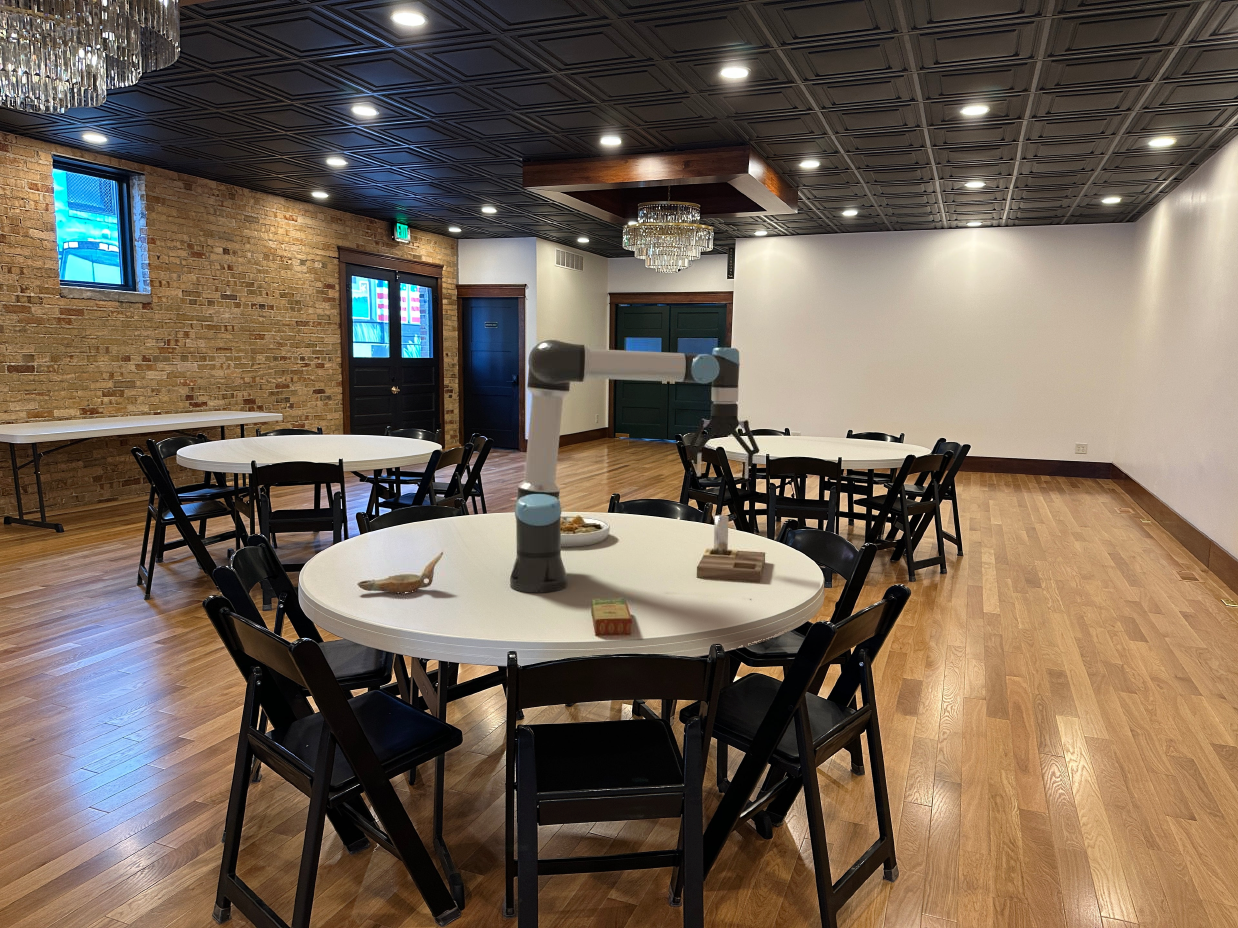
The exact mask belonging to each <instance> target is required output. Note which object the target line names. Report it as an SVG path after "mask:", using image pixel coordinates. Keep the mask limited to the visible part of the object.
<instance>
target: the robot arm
mask: <svg viewBox="0 0 1238 928" xmlns="http://www.w3.org/2000/svg"><path fill="white" fill-rule="evenodd" d="M527 361H528V362H527V363H528V374H527V384H526V385H527V386H526V388H527V389H528V391H529V392H530V394H531V403H530V412H529V413H530V414H529V415H530V416H529V425H528V436H527V437H528V438H527V448H526V457H525V458H526V459H525V466H524V467H525V469H524V480H522V482H520V483H519V484H518V485H517V486H518V487H517V494H516V495H517V496H516V505H515V508H514V516H515V524H516V529H515V531H516V535H515V536H516V537H515V538H516V540H515V541H516V558H515V561H514V564H513V567H512V571H511V573H510V577H509V585H510V588H512V589H514V591H515V590H516V591H519V592H524V593H525V592H526V593H549V592H555V591H559V590H562V589H565V588H566V587H567V586H568V574H567V571H566V569H565V565H564V563H563V562H564V561H563V559H562V556H561V555H562V554H561V549H562V547H561V516H562V515H561V514H562V511H563V510H562V507H561V502H560V493H561V491H560V490H561V489H560V487H559V486H558V485H557V483H556V477H557V476H556V475H557V465H558V456H559V455H558V454H559V444H560V437H561V426H562V425H561V423H562V412H563V405H564V403H563V402H564V397H565V396H567V395H568V394H569V393H570V390H571V389H570V388H571V387H570V386H571V383H576V382H577V383H585V382H586V381H587V380H589V379H600V380H621V381H622V380H625V381H649V382H650V381H651V382H652V381H653V382H654V381H655V382H675V383H676V382H680V383H681V382H682V383H696V384H698V383H699V384H709V383H711V399H710V400H711V402H713V403H711V404H710V407H711V408H710V419H709V420H708V419H705V418H702V419H700V420H699V425H698V427H697V430H695V431H696V432H695V433H694V436H693V437H692V439H691V441H690V443H689V445H688V447H687V451H689V452H692V453H693V464H694V465H697V466H696V477H701V476H702V452H700V451H701V450H702V449H703V448H704V447H705V445H706V444H707V443H708V442H709V441H710V439H712V437H714V436H715V435H717V436H719V437H720V436H726V437H730V436H733V437H734V439H735V440H736V442H738V443H739V445H740V446H741V448H743V450H744V451H745V453H746V454H745V457H744V460H745V461H744V462H745V463H744V479H746V480H747V479H748V478H749V467H751V468H752V467H753V464H754V462H753V461H754V459H753V458H754V455H756V454H758V453H760V449H759V446H758V444H757V442H756V439H755V437H754V435H753V433H752V431H751V429H750V424H749V423H750V422H749V420H748V419H745V420H739V419H738V415H739V404H738V401H739V381H740V380H739V378H740V365H741V363H740V351H739V350H738V348H736V347H714V348H713V349H712V352H711V354H709V353H683V352H662V351H645V350H644V351H642V350H641V351H640V350H622V349H621V350H619V349H618V350H617V349H598V348H596V349H595V348H588V346H587V345H586V344H577V343H569V342H564V341H560V340H557V339H546V340H543V341H540V342H539V343H537V344H536V345H534V346H533V348H532V349H531V351H530V353H529V355H528V360H527ZM707 426H709V427H710V428H711V431H710V432H709V433H708V434H707V435H706V436H705V437H704V439H702V441H701V442H700V443H699V444H698V445H697V446H696V447H695V445H696V443H697V441H698V440H699V439H700V436H701V434H702V432H703V430H704V429H705V428H706V427H707ZM739 426H740V427H741V429H744V433H745V434H746V436H747V439H748V441H749V443H750V445H751V447H752V449H751V447H750V446H749V445H748V444H747V442H746V441H745V440H744V438H743V437H742V436H741V435H740V433H739V432H738V431H737V429H738V427H739Z"/></svg>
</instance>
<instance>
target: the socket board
mask: <svg viewBox="0 0 1238 928" xmlns="http://www.w3.org/2000/svg"><path fill="white" fill-rule="evenodd" d="M765 563H766V552H763V551H750V550H749V551H748V550H738V549H729V548H728V555H714V547H713V548H711V547H710V548H709V547H707V548H706V550H705V551H704V553H703V555H702V557H701V559H700V561H699V563H697V564H698V565H697V566H696V579H706V580H721V581H722V580H723V581H734V582H736V581H737V582H749V583H761V580H762V575H763V572H764V568H765Z"/></svg>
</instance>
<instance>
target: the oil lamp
mask: <svg viewBox="0 0 1238 928" xmlns="http://www.w3.org/2000/svg"><path fill="white" fill-rule="evenodd" d="M443 555H444V551H441V552H440V553H439V555H437V556H436V557H435V558H434V559H432V560H431V561H430V562H429V563H428V564H427V565H426V566H425V568H424V569H423V571H422V573H421V574H420V575H418V574H413V573H402V574H396V575H389V576H388V577H387V578H386V577H385V578H383V579H377V580H376V579H368V580H367V579H366V580H361V581H359V582H358V583H357V586H358V587H359V588H360V589H362V590H365V591H369V592H370V591H371V592H372V591H375V592H385V591H389V592H388V593H394V592H399V593H405V592H412V591H414V592H416V591H417V590H418V589H423V588H428V587H430V586H431V585H432V583H433V581H434V573H435V572H434V570H435V566H436V565H438V564H437V563H438V562H439V561H440V560H441V558H442V557H443ZM425 580H428V582H425ZM415 590H416V591H415ZM399 593H398V594H399ZM412 593H413V592H412Z"/></svg>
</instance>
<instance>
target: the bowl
mask: <svg viewBox="0 0 1238 928" xmlns="http://www.w3.org/2000/svg"><path fill="white" fill-rule="evenodd" d="M610 530H611V525H610V523H609V522H607V521H606V520H603V519H599V518H594V517H590V516H589V517H587V516H580V515H576V516H573V515H570V516H569V515H561V548H575V547H577V548H578V546H579V547H585V546H591V545H595V544H598V543H600V542H602V541H604V540H605V539H606V538H607V537H608V535H609V533H610Z"/></svg>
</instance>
